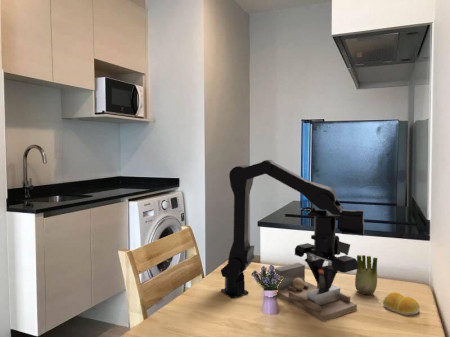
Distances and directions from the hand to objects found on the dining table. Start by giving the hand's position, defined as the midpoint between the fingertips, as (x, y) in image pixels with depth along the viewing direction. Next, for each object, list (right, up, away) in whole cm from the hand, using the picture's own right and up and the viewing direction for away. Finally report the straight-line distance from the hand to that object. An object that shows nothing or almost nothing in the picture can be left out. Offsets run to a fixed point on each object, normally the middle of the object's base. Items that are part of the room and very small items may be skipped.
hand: (324, 286), depth 104 cm
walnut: (-5, -2, +9) cm, 11 cm away
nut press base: (-2, -6, +4) cm, 7 cm away
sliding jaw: (0, -4, 0) cm, 4 cm away
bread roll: (+22, -6, 0) cm, 23 cm away
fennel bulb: (+15, -6, +10) cm, 19 cm away
